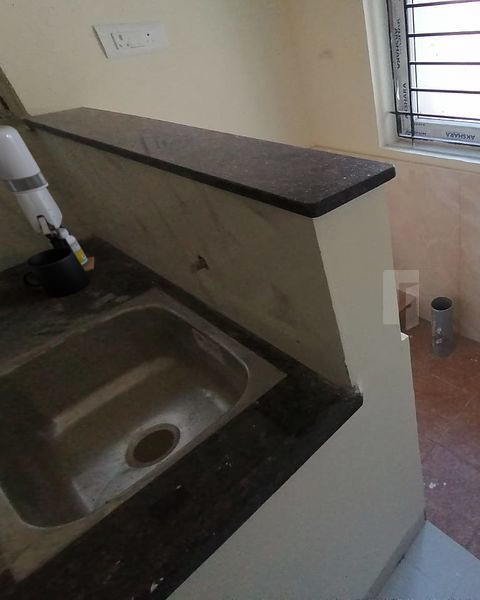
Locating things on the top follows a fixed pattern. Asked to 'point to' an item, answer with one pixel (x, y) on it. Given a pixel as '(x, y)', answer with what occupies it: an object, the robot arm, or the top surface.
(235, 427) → the top surface
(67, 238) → the supplement bottle
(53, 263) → the mug
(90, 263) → the cork trivet
